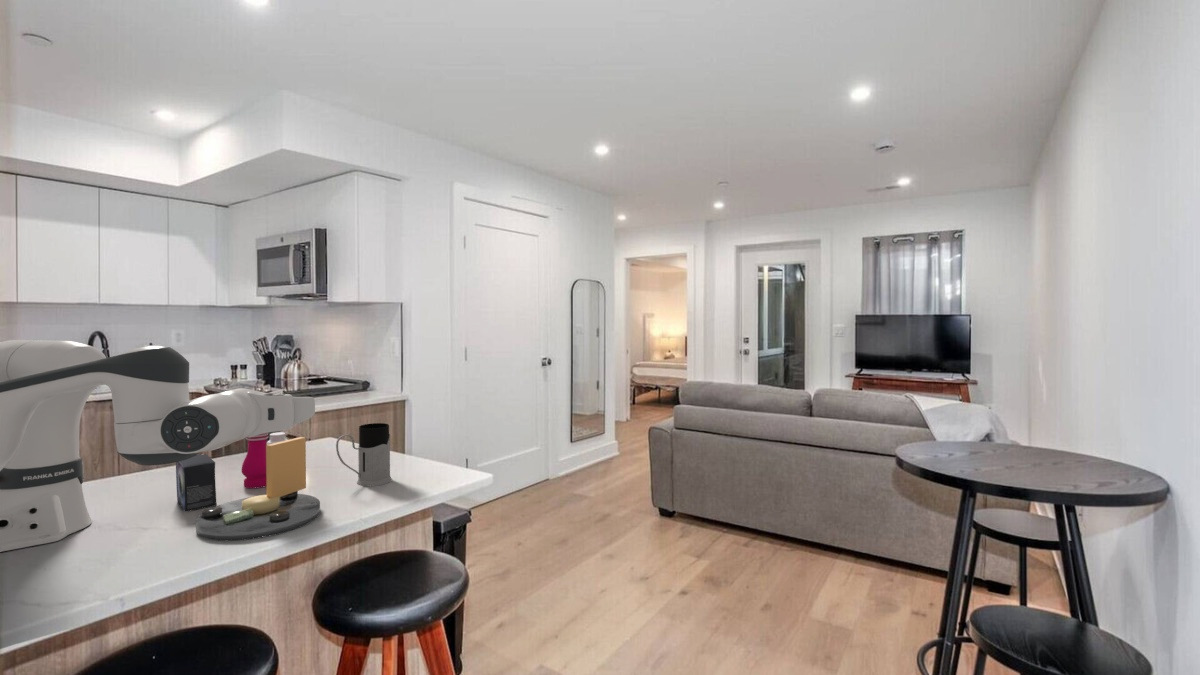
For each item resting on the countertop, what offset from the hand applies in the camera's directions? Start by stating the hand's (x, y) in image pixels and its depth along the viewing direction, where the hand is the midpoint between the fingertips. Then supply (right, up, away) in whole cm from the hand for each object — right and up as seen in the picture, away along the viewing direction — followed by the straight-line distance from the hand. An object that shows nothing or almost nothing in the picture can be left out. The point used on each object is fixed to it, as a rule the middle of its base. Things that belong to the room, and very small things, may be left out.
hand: (271, 404), depth 113 cm
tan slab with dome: (-6, -24, +13) cm, 28 cm away
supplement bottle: (-27, -25, +49) cm, 61 cm away
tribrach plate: (-8, -26, +9) cm, 29 cm away
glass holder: (+4, -26, +36) cm, 44 cm away
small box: (-29, -26, +19) cm, 43 cm away
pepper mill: (-23, -25, +34) cm, 48 cm away
